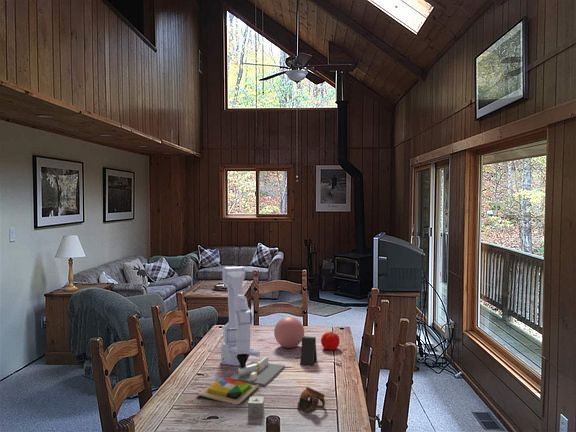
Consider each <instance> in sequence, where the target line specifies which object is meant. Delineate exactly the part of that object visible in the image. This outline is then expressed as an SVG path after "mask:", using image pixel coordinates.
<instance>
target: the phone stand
mask: <svg viewBox="0 0 576 432" xmlns="http://www.w3.org/2000/svg"><path fill="white" fill-rule="evenodd" d="M316 340H317V339H316V336H309V335H308V336H305V335H304V336H303V337H302V341H301V347H300V348H301V350H300V361H299V362H300V363H299V365H300V366H303V367H304V366H306V367H314V366H315V364H316V362H317V360H318V355H317V345H316V343H317V341H316Z"/></svg>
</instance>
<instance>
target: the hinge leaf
mask: <svg viewBox="0 0 576 432" xmlns="http://www.w3.org/2000/svg"><path fill="white" fill-rule="evenodd" d="M257 369H259V366H257V364H253V365H250V366H246V367H243V368H240V367H239V368H238V369H237V372H238V377H241V376H245V375H248V374H251V373H252V372H257Z"/></svg>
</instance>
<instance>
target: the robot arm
mask: <svg viewBox="0 0 576 432" xmlns="http://www.w3.org/2000/svg"><path fill="white" fill-rule="evenodd" d="M221 271H222V272H221V273H222V274H221V277H222V284H223V285H224V286H226V288H227V289H226V290H227V302H228V303H227V306H228V322H227V323H226V324H225V325H224V326H223V327H222V329H223V331H222V339H223V343H222V344H221V346H220V362H219V364H223V365H230V366H231V365H232V366H236V367H239V366H240V367H239V368H243V367H246V365H247V361H248V360H249V357H250V356H253V357H255V358H256V357H257V358H258V357H260V356H261V351H260V350H258V349H257V350H256V349H254V348H251V325H252V323H253V314H252V311H251V309H250V307H249V306H248V305H249V304H248V300H247V296H246V295H244V290H243V289H244V286H243V283H244V280H245V278H246V268H245V267H244V265H242V266H224V267H223V268H222V270H221Z"/></svg>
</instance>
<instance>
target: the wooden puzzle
mask: <svg viewBox="0 0 576 432" xmlns="http://www.w3.org/2000/svg"><path fill="white" fill-rule="evenodd" d="M230 378H231V377H226V376H223V377H220V378H218V379H216V380H215V381H214V382H213V383H211V384H210V385H209V386H207V387H206V388H204V389H203V390H201V391H200V392H199V393H198V394H197V395H196V397H197V398H199V397H204V398H207V399H211V400H215V401H218V402H223V403H226V402H227V403H226V404H230V403H232V404H231V405H236V404H239V405H240V404H241V403H243V402H244V401H245V400H246V399H247V398H248V397H249V396H250V395H251V394H253V392H254V391H255V390H257V389H258V388H259V385H258V384H257V385H253V384H249V383H245V382H241V381H236V380H233V379H230Z"/></svg>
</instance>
